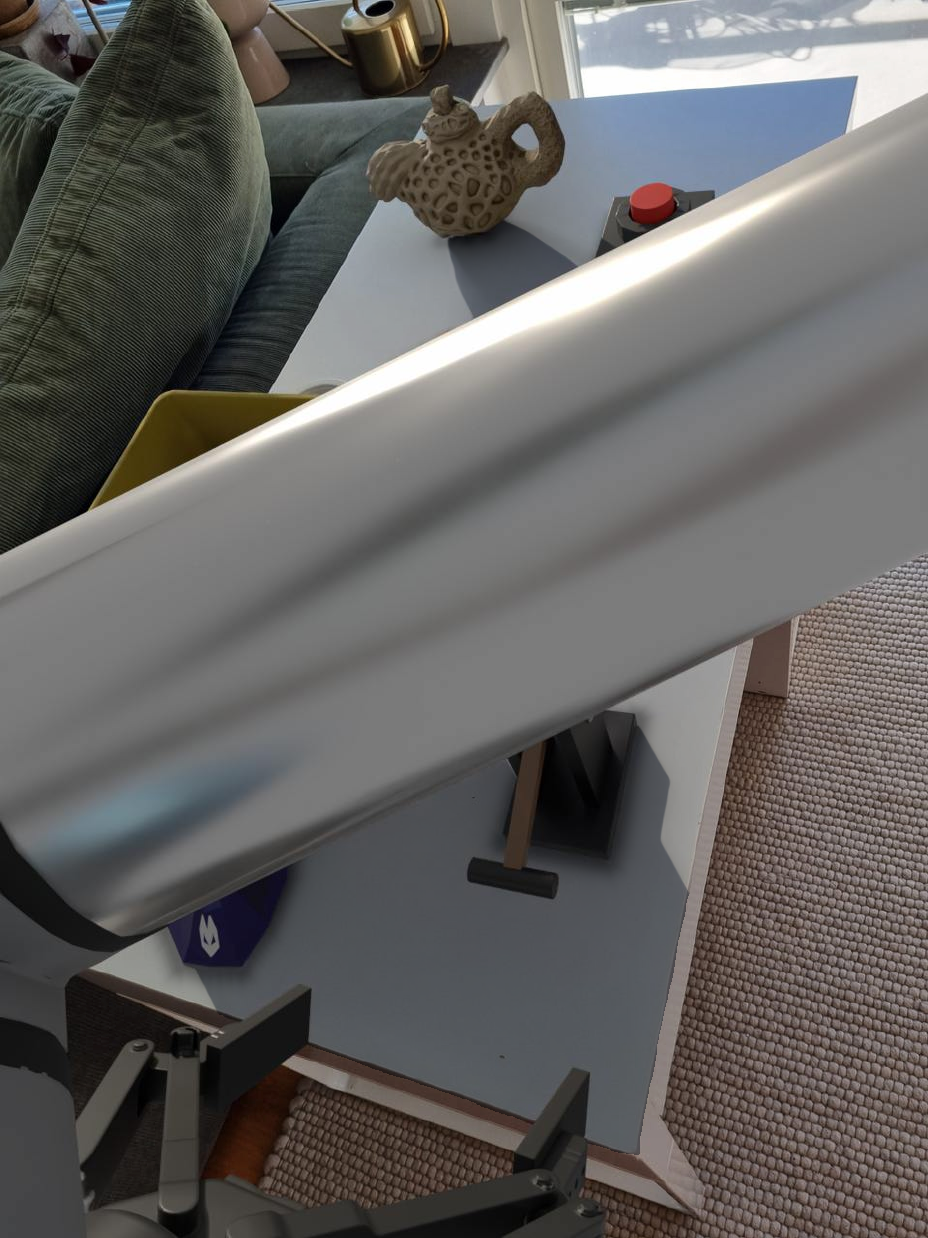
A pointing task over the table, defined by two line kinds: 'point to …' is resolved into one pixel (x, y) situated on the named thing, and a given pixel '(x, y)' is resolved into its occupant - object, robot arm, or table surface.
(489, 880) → the switch lever
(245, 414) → the flower pot
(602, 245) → the control block
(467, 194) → the teapot
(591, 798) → the switch bracket
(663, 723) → the table surface
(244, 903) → the computer mouse
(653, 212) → the power button
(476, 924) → the table surface
